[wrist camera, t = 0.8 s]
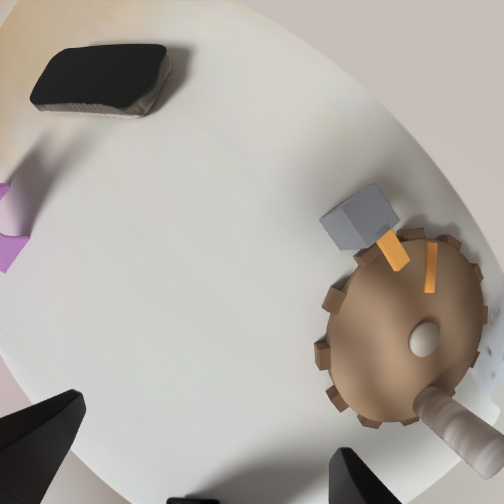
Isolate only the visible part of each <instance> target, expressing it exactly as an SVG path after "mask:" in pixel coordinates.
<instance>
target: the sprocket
mask: <svg viewBox="0 0 504 504" xmlns="http://www.w3.org/2000/svg"><path fill="white" fill-rule="evenodd" d="M397 233H398V240H399V242H400V243H401V245H402V247H403V248H404V250H405V252H406V253H407V255H408V257H409V259H410V261H409V262H408V263H407V264H406V265H405V266H404V267H403V268H401V269H400V270H399V271H394V270H393V268H392V267H391V265H390V263H389V262H388V260H387V258H386V257H385V255H384V254H383V252H382V250H381V249H380V247H379V246H378V244H377V243H374V244H373V245H372V246H370V247H369V248H363V249H362V250H361V251H359V252H358V253H357V254H356V255H354V256H353V257H354V259H355V260H356V262H357V263H358V265H359V267H358V268H357V269H356V270H355V271H354V272H353V274H352V275H351V276H350V277H349V278H348V280H347V281H346V283H345V285H344V286H343V288H342V289H341V291H339V290H337V289H335V288H332V287H330V289H329V291H328V293H327V296H326V298H325V300H324V302H323V305H322V308H323V309H325V310H326V311H328V312H330V313H331V314H330V318H329V321H328V325H327V331H326V338H325V342H320V343H314V348H315V363H316V365H317V366H318V368H319V370H320V371H321V370H327V369H328V371H329V374H330V377H331V379H332V381H333V383H334V386H332V387H331V388H329V389H328V390H327V391H326V393H327V395H328V397H329V399H330V400H331V402H332V403H333V404H334V405H335V407H336V408H337V409H338V410H339V412H340V413H341V412H342V411H344V410H345V409H347V408H348V407H351V409H353V410H354V411H355V412H357V413H358V414H359V415H358V416H357V418H358V419H359V421H360V422H361V424H362V425H363V426H365V427H370V428H375V429H378V428H379V426H380V425H381V423H382V422H398V421H400V422H401V423H402V424H403V425H404V426H406V425H409V424H412V423H415V422H417V421H419V419H421V420H422V421H423V422H425V423H426V424H427V425H428V426H429V427H430V428H431V429H432V430H433V431H434V432H435V433H436V434H437V435H438V436H439V437H440V438H441V439H442V440H443V441H444V442H445V443H446V444H447V445H448V446H449V447H450V448H452V449H453V450H454V451H455V452H456V453H457V454H458V455H459V456H460V457H461V458H462V459H463V460H464V461H465V462H466V463H467V464H468V465H469V466H470V467H471V468H472V469H473V470H474V471H475V472H477V473H478V474H479V475H480V476H481V477H482V478H483V479H484V480H488V479H490V478H492V477H493V476H494V475H496V474H497V473H498V472H499V471H500V470H501V469H502V468H503V467H504V435H503V434H502V433H500V432H499V431H497V430H496V429H495V428H493V427H492V426H490V425H489V424H488V423H486V422H485V421H483V420H482V419H480V418H479V417H478V416H476V415H475V414H473V413H472V412H471V411H469V410H468V409H466V408H465V407H463V406H462V405H461V404H459V403H458V402H456V401H455V400H454V399H452V398H451V397H452V396H453V395H454V394H455V390H454V388H455V387H456V386H457V385H458V383H459V382H460V381H461V380H462V378H463V377H464V375H465V373H466V372H467V370H468V369H469V367H471V368H473V367H474V364H475V362H476V360H477V358H478V356H479V353H480V352H478V351H477V348H478V345H479V342H480V338H481V333H482V328H483V325H484V324H486V323H487V316H488V306H484V305H483V296H482V291H481V286H480V282H481V281H482V280H483V276H482V273H481V271H480V268H479V266H478V264H470V263H469V261H468V260H467V259H466V258H465V257H464V256H463V254H462V253H460V252H459V251H460V247H461V242H460V241H458V240H457V239H455V238H454V237H452V236H451V235H440V236H438V239H437V240H432V239H425V234H424V228H417V229H407V230H401V231H397Z"/></svg>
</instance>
